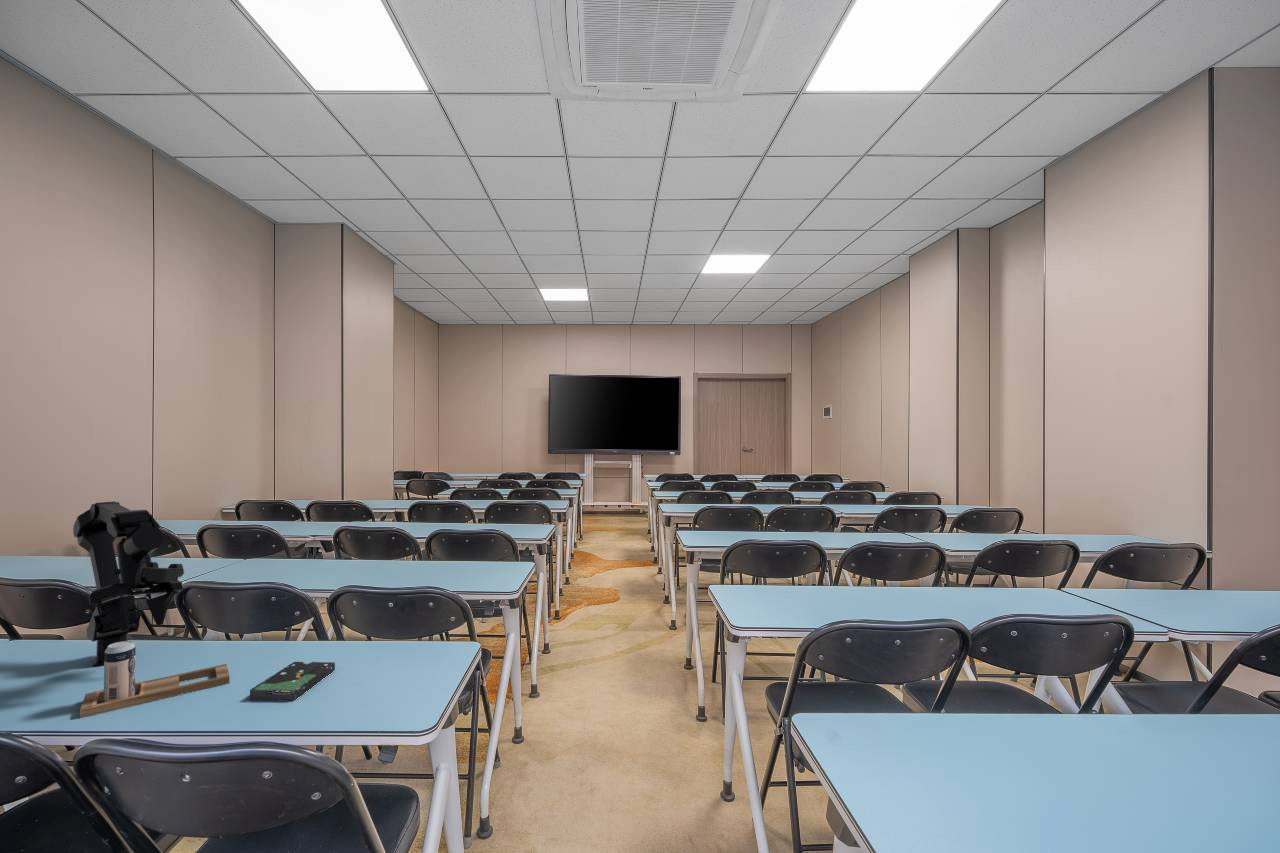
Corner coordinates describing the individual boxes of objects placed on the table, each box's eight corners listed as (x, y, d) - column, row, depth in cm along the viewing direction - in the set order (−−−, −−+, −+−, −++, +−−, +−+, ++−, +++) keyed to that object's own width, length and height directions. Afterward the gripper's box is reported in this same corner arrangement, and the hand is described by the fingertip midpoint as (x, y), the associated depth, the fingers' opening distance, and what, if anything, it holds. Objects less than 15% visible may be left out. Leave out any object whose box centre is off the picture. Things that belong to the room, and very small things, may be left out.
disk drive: (293, 673, 132) (248, 702, 117) (293, 661, 132) (248, 689, 117) (335, 673, 132) (296, 702, 117) (335, 661, 132) (296, 689, 117)
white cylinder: (138, 698, 118) (139, 642, 118) (109, 708, 113) (110, 650, 114) (128, 693, 120) (129, 638, 120) (99, 702, 116) (100, 645, 116)
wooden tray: (85, 701, 116) (85, 693, 116) (226, 670, 132) (226, 663, 132) (79, 718, 109) (79, 710, 110) (229, 683, 125) (229, 676, 125)
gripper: (135, 550, 122) (144, 620, 118) (199, 551, 140) (209, 611, 136) (83, 567, 121) (91, 638, 117) (155, 565, 139) (163, 627, 135)
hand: (143, 627), depth 127 cm, fingers open, 9 cm apart
